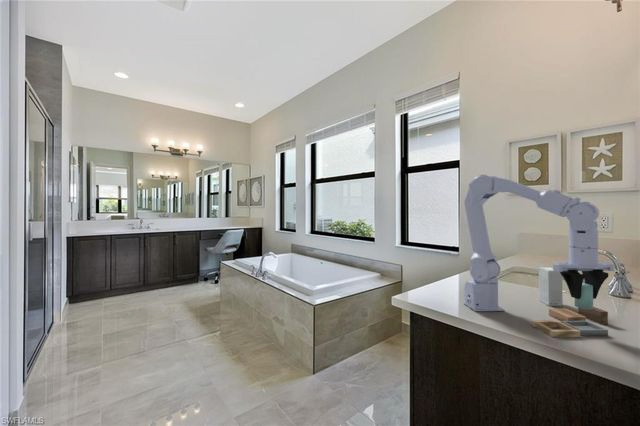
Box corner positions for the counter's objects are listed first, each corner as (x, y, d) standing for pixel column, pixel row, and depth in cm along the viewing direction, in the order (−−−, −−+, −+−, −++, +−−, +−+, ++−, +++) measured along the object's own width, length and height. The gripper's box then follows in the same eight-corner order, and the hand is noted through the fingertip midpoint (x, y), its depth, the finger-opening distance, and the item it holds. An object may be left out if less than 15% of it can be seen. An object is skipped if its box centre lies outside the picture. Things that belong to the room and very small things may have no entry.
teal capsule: (583, 309, 73) (583, 286, 73) (571, 304, 77) (570, 283, 77) (597, 309, 73) (597, 286, 73) (584, 304, 77) (584, 282, 76)
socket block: (552, 337, 72) (552, 331, 72) (532, 325, 79) (532, 320, 79) (580, 337, 72) (580, 331, 72) (557, 325, 79) (557, 320, 79)
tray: (580, 336, 72) (580, 330, 72) (560, 326, 78) (560, 321, 78) (608, 335, 72) (608, 330, 72) (586, 326, 78) (586, 320, 78)
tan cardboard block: (567, 325, 79) (567, 317, 79) (548, 316, 86) (548, 308, 86) (586, 325, 79) (586, 317, 79) (565, 316, 86) (565, 308, 86)
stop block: (600, 324, 79) (600, 312, 79) (578, 314, 86) (578, 303, 86) (607, 324, 79) (607, 311, 79) (584, 314, 86) (584, 303, 86)
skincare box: (563, 306, 93) (563, 271, 93) (548, 306, 94) (548, 270, 94) (552, 300, 99) (551, 267, 99) (538, 300, 100) (538, 266, 100)
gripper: (568, 249, 71) (569, 303, 71) (626, 248, 71) (627, 302, 71) (546, 246, 78) (546, 294, 78) (599, 245, 78) (599, 293, 78)
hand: (583, 297), depth 75 cm, fingers closed on teal capsule, 4 cm apart
